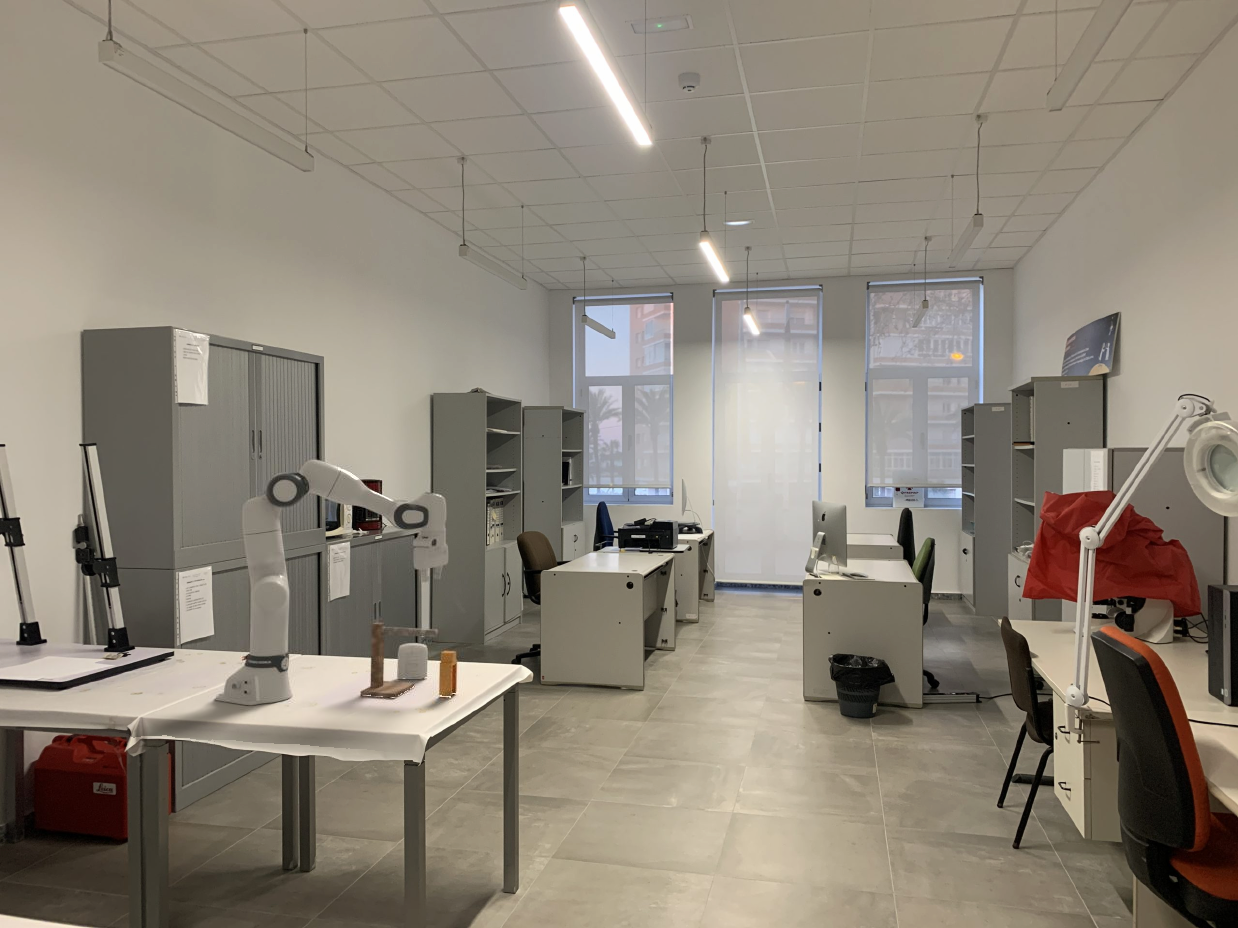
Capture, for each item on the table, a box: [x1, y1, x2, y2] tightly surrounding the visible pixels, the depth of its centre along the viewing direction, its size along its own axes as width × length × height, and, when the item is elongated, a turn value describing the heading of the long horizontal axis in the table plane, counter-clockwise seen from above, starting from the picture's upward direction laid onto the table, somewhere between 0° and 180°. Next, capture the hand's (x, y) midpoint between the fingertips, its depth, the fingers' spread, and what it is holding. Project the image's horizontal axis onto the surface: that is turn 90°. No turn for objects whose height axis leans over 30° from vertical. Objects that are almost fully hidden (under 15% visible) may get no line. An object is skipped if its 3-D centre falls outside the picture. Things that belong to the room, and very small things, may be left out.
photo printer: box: [396, 642, 429, 680], centre depth 281 cm, size 10×4×12 cm, turn 98°
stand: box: [360, 621, 439, 698], centre depth 262 cm, size 22×14×22 cm, turn 79°
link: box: [438, 650, 458, 696], centre depth 259 cm, size 4×5×14 cm
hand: (431, 580), depth 273 cm, fingers open, 8 cm apart
